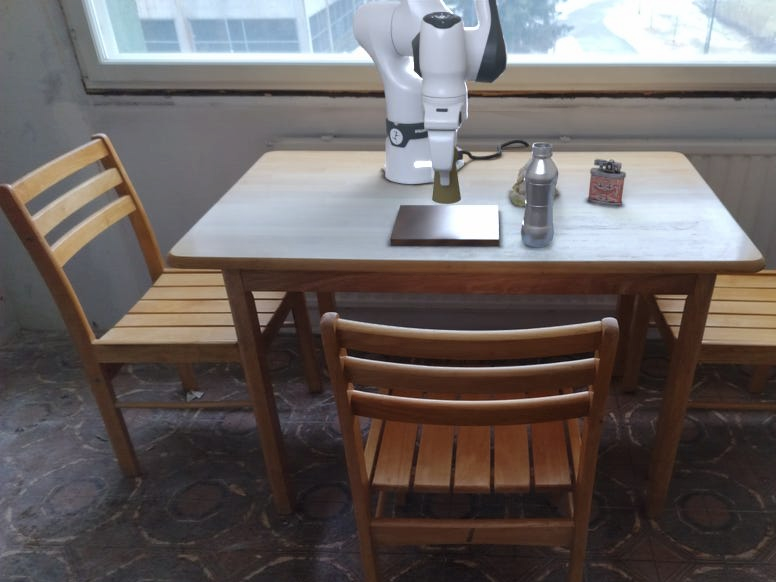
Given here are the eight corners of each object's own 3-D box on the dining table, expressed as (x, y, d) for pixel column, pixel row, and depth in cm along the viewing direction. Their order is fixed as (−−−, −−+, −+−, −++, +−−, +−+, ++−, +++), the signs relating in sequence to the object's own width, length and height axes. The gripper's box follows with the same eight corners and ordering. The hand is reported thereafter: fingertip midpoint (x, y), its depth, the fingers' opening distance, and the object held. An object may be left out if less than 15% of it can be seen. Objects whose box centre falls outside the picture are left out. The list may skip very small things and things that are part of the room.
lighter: (623, 203, 151) (629, 160, 145) (619, 208, 148) (625, 164, 142) (589, 198, 153) (594, 155, 148) (585, 202, 151) (589, 159, 145)
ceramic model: (514, 184, 161) (515, 143, 155) (559, 187, 159) (562, 146, 153) (504, 205, 149) (505, 162, 144) (553, 209, 148) (556, 165, 142)
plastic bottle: (518, 238, 135) (521, 140, 123) (550, 237, 135) (557, 139, 124) (522, 251, 130) (526, 151, 118) (556, 250, 130) (563, 150, 119)
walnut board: (498, 212, 146) (498, 205, 145) (499, 246, 132) (499, 239, 131) (400, 211, 147) (400, 204, 146) (390, 246, 132) (389, 238, 131)
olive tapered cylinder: (457, 205, 132) (456, 150, 126) (428, 202, 133) (426, 148, 127) (463, 194, 137) (463, 141, 131) (436, 192, 138) (434, 139, 132)
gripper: (432, 95, 134) (435, 162, 141) (422, 122, 117) (426, 196, 125) (463, 96, 133) (463, 163, 141) (457, 122, 117) (458, 197, 124)
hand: (446, 179), depth 133 cm, fingers closed on olive tapered cylinder, 4 cm apart
